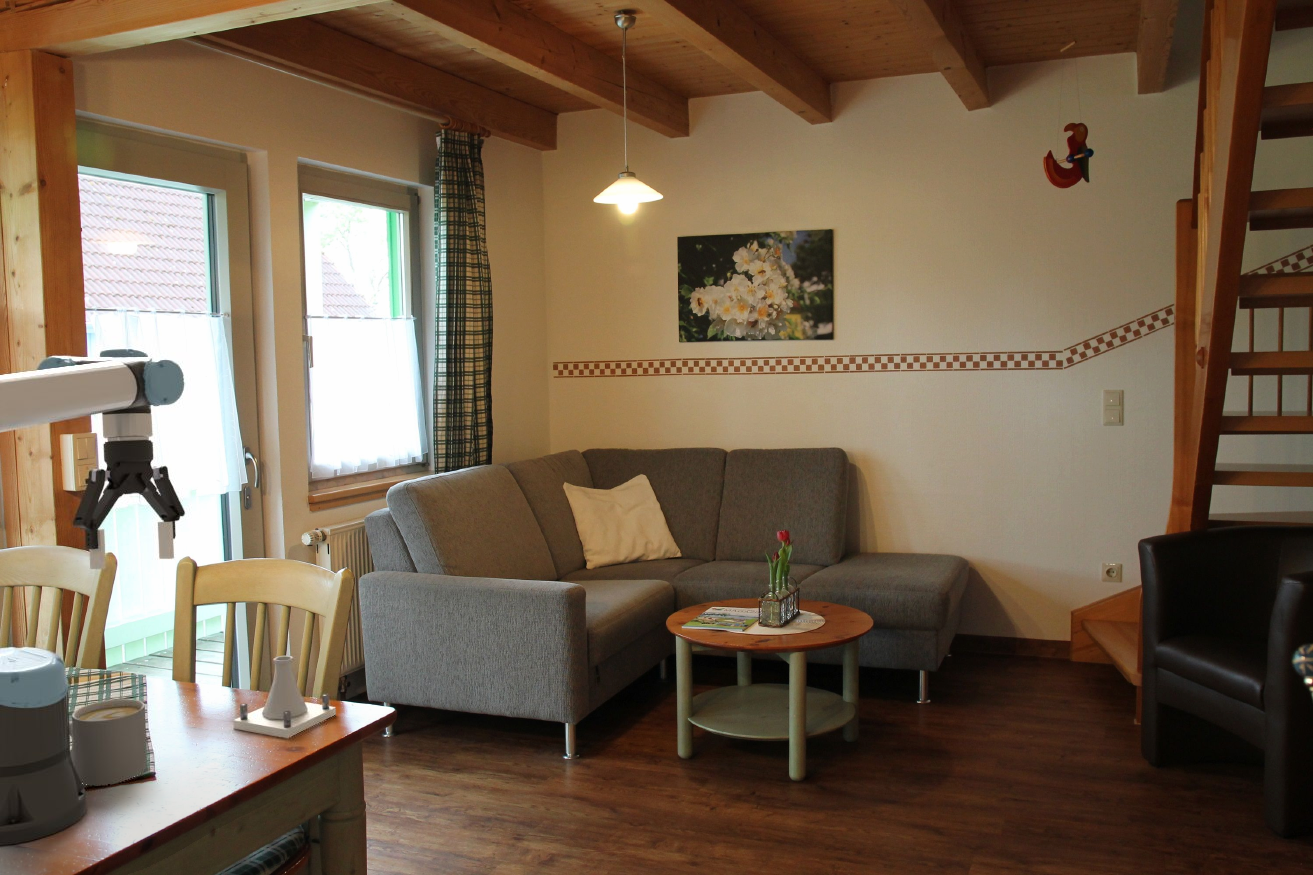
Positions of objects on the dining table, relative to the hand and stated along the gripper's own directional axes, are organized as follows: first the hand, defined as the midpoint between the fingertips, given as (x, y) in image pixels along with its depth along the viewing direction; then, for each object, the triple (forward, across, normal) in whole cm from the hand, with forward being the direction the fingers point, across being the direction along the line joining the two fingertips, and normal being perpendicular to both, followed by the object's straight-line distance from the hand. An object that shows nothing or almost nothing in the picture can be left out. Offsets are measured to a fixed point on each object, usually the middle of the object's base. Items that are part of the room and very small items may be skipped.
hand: (133, 563), depth 174 cm
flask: (+28, -14, +19) cm, 37 cm away
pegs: (+28, -14, +19) cm, 37 cm away
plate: (+30, -14, +19) cm, 38 cm away
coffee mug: (+31, +14, +8) cm, 35 cm away
